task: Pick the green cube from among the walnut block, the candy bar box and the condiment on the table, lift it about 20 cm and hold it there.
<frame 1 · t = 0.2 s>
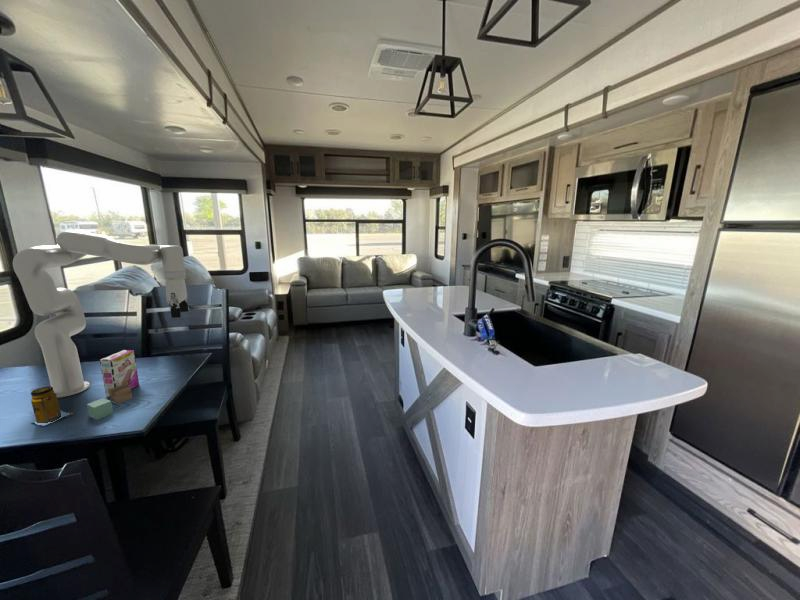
hand: (180, 314, 139), 31 cm above the table, tool pointing down, fingers open, 9 cm apart
green cube: (101, 414, 119), on the table
candy bar box: (123, 391, 136), on the table
walnut block: (121, 399, 129), on the table
condiment: (53, 419, 116), on the table
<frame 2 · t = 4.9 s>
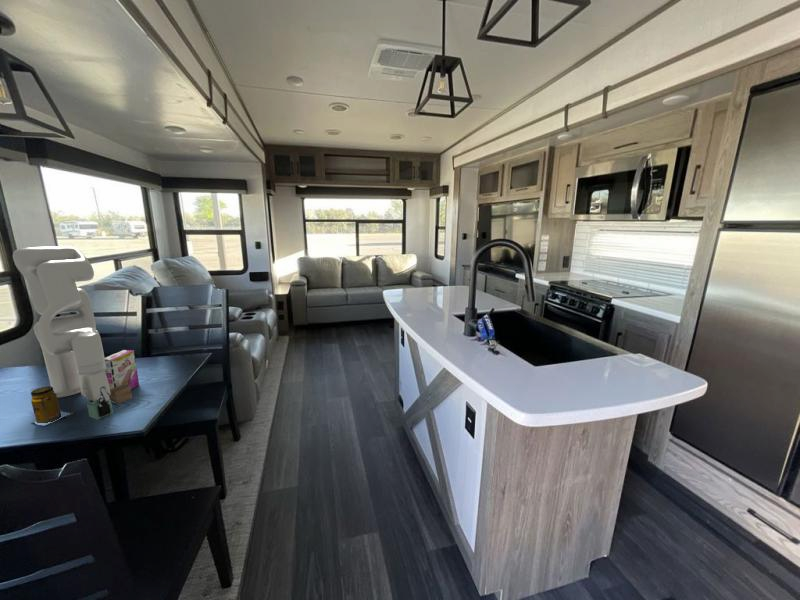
hand: (101, 412, 119), 1 cm above the table, tool pointing down, fingers closed on green cube, 5 cm apart
green cube: (101, 414, 119), on the table, touching gripper
everything else where it was.
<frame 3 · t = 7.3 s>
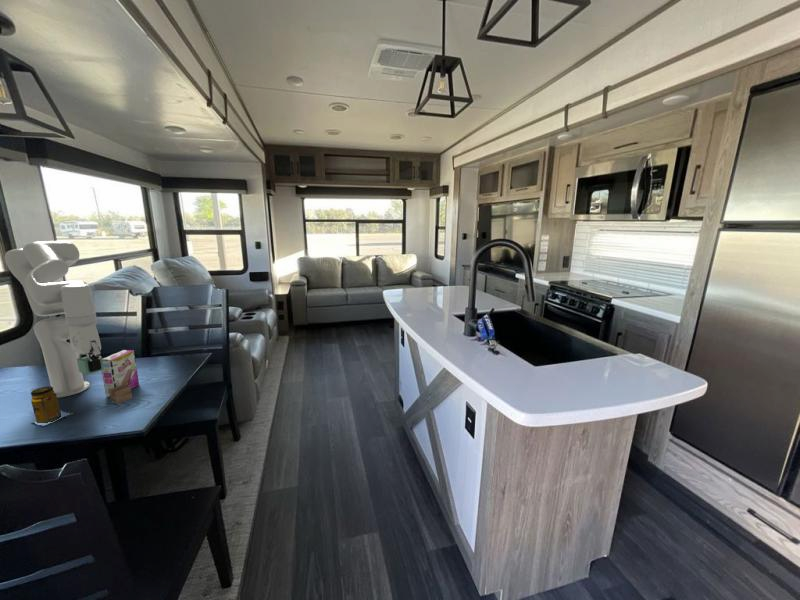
hand: (91, 368, 115), 18 cm above the table, tool pointing down, fingers closed on green cube, 4 cm apart
green cube: (91, 370, 115), point 17 cm above the table, touching gripper
everything else where it was.
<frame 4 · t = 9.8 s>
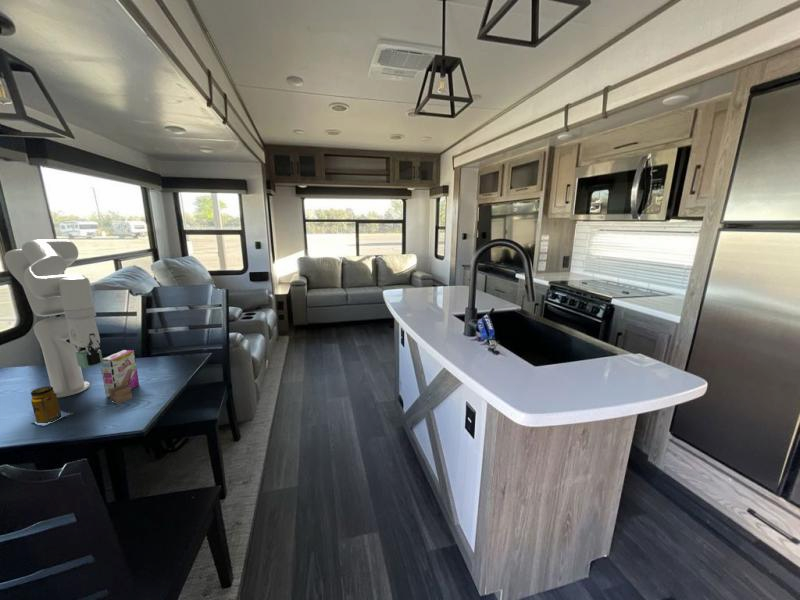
hand: (90, 362, 114), 21 cm above the table, tool pointing down, fingers closed on green cube, 4 cm apart
green cube: (91, 364, 114), point 20 cm above the table, touching gripper
everything else where it was.
at the end: the gripper is holding green cube; green cube point 19.8 cm above the table; walnut block moved 0.1 cm from its start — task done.
